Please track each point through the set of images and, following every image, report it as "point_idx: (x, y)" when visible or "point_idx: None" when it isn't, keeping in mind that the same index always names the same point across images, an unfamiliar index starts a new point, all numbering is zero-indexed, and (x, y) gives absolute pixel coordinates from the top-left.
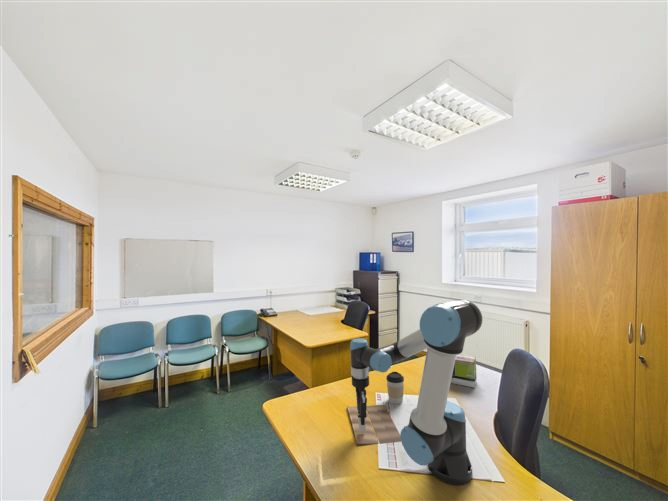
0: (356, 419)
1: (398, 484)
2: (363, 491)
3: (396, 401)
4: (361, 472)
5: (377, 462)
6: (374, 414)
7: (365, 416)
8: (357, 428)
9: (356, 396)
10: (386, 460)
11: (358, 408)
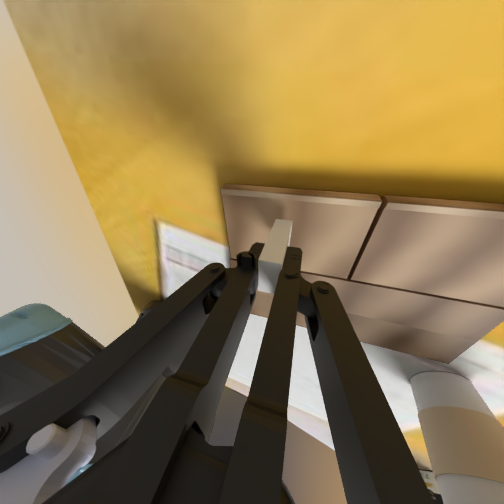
0: (407, 234)
1: (125, 242)
2: (78, 156)
3: (421, 394)
4: (132, 168)
5: (174, 225)
6: (402, 312)
7: (208, 293)
8: (324, 217)
9: (283, 433)
10: (183, 248)
11: (275, 298)
